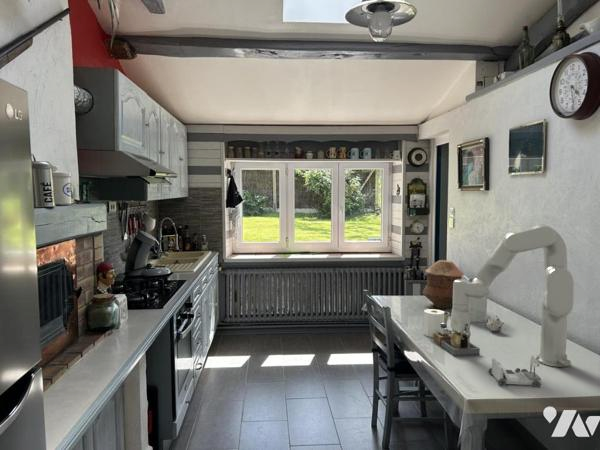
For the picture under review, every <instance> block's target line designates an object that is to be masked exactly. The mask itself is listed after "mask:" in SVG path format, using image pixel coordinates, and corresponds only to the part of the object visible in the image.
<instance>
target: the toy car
mask: <svg viewBox="0 0 600 450" xmlns="http://www.w3.org/2000/svg"><path fill="white" fill-rule="evenodd" d="M537 359H539V357H538V358H537ZM537 359H536V357H535V356H534V355H531V357H530V360H529V362H530V369H529V370H530V371H529V370H528V369H526V368H522V369H521V368H519V367H517V368H516V369H514V371H512V369H505V368H504V367H503V366H502V364H501V363H500V362H499V361H497V359H495V358H491V367H490V368H489V369H488V374H489V375H493V377H494V378H495V379H496V381H497V385H498V386H500V387H506V386H507V385H521V386H522V385H524V386H526V385H527V386H532V388H534V389H535V387H537V388H538V389H539V388H541V385H542V384H541V382H540V381H542V378H541V376H539V375H538V374H537V373H536V368H538V367H540V365H541V363H540V362H538V361H537ZM532 369H533V371H532Z"/></svg>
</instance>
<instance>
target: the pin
mask: <svg viewBox="0 0 600 450" xmlns="http://www.w3.org/2000/svg"><path fill="white" fill-rule="evenodd" d="M440 327H441V331H440V336H446V333H448V332H447V328H448V322H447V323H443V322H442V323H440Z"/></svg>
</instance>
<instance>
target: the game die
mask: <svg viewBox="0 0 600 450" xmlns="http://www.w3.org/2000/svg"><path fill="white" fill-rule="evenodd" d="M487 316H488V315H487ZM503 324H504V322H502V321H501V320H500V318H499V317H497V315H495V317H493V316H492V317H491V316H488V319H487V321H486V324H484V326H486V327H487V328H488V329H489V331H491V333H494V332H501V329H502V328H501V327H502V326H503Z"/></svg>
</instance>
